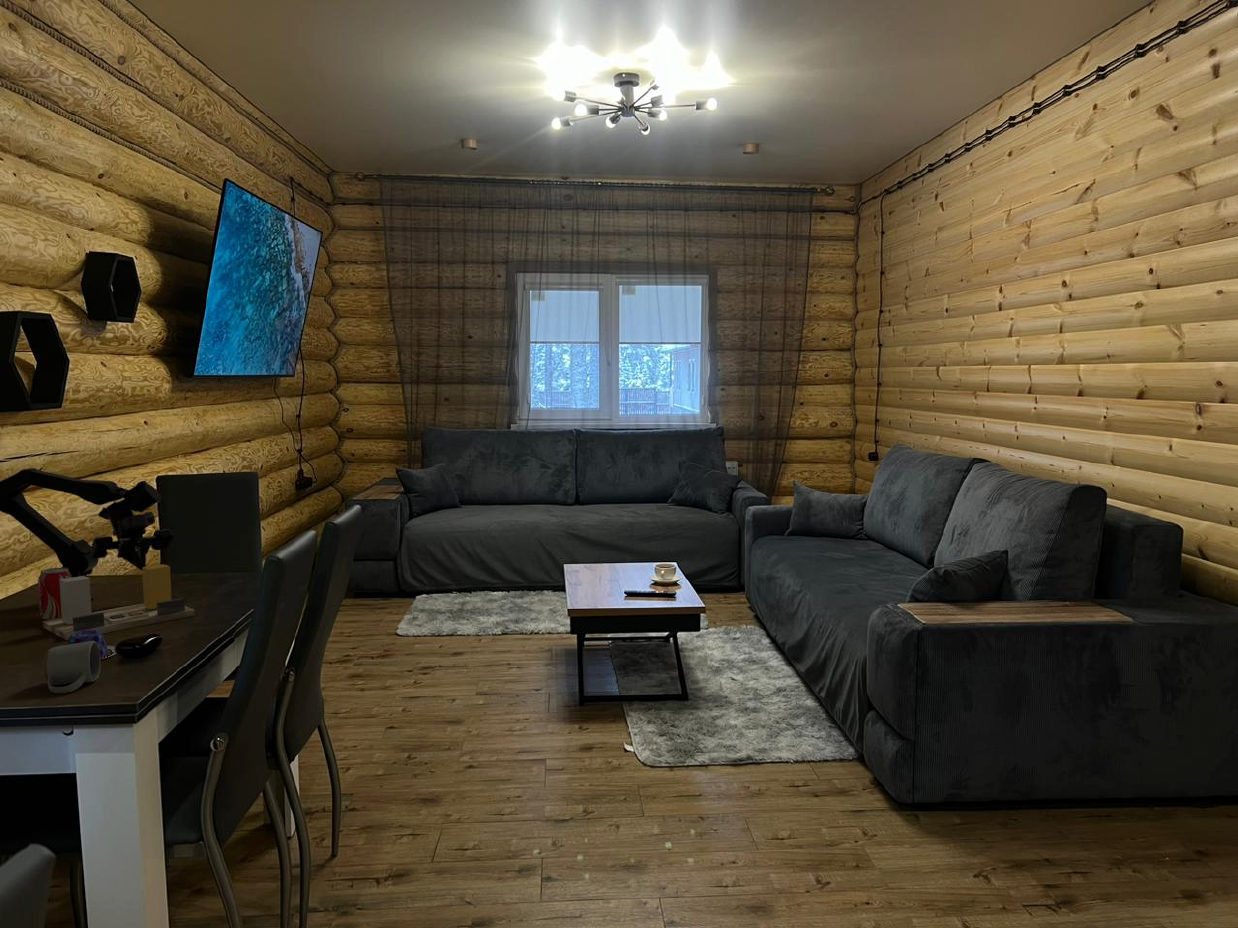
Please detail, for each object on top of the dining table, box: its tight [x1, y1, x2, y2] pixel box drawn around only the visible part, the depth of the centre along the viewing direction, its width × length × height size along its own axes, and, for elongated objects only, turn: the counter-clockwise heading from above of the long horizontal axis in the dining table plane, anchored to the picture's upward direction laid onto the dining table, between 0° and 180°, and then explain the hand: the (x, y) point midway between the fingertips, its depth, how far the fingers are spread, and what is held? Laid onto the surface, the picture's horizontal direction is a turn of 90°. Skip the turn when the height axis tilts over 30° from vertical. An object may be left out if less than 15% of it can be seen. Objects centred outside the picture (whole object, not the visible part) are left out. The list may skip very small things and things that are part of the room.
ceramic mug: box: [42, 641, 102, 694], centre depth 164 cm, size 11×8×8 cm
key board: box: [42, 597, 195, 641], centre depth 209 cm, size 16×28×4 cm, turn 139°
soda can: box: [37, 567, 72, 621], centre depth 212 cm, size 7×7×12 cm
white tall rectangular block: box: [60, 576, 93, 625], centre depth 203 cm, size 4×5×10 cm
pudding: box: [67, 630, 117, 661], centre depth 182 cm, size 12×12×5 cm
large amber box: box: [141, 563, 173, 610], centre depth 216 cm, size 4×5×10 cm
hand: (143, 569), depth 222 cm, fingers closed
